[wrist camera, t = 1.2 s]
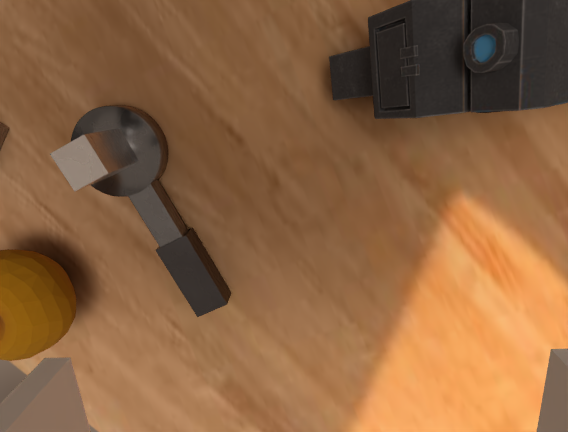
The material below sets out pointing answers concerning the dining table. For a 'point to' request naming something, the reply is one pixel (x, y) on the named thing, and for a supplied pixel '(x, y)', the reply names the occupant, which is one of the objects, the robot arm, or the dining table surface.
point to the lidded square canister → (3, 133)
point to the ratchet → (142, 192)
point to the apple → (32, 303)
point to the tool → (459, 58)
